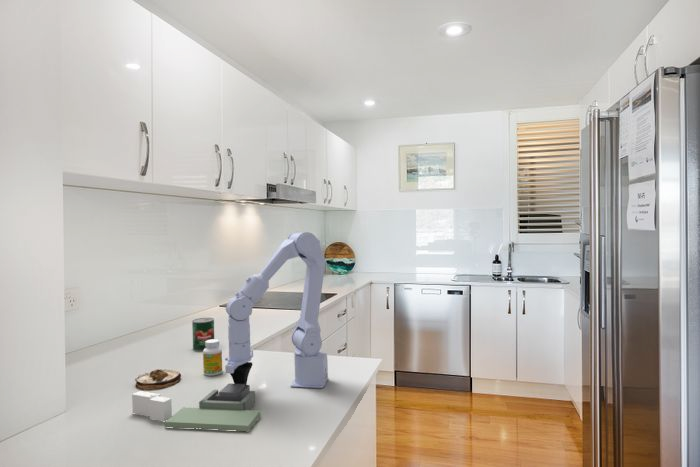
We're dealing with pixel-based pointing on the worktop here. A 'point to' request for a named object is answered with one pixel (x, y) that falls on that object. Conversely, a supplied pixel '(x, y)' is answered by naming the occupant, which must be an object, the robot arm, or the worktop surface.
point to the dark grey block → (233, 392)
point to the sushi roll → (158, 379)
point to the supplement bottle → (212, 358)
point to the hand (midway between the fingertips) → (240, 390)
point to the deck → (217, 414)
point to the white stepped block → (152, 405)
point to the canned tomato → (202, 332)
